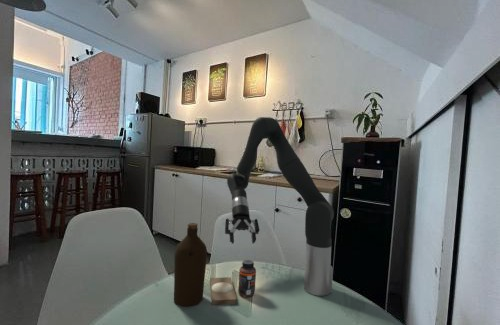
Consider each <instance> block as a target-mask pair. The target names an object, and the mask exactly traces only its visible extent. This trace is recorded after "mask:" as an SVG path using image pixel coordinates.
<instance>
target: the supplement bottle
mask: <svg viewBox="0 0 500 325" xmlns="http://www.w3.org/2000/svg"><path fill="white" fill-rule="evenodd" d="M254 266H255V263H254V261H253V260H251V259H244V260H243V261H242V266H240V268H239V274H238V293H237V294H238V295H240V297H243V298H251V297H253V296H254V295H255V292H256V280H257V278H256V275H257V269H256V267H254Z"/></svg>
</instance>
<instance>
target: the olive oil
mask: <svg viewBox="0 0 500 325" xmlns="http://www.w3.org/2000/svg"><path fill="white" fill-rule="evenodd" d="M175 247H176V248H175V250H174V259H173V260H174V263H173V264H174V265H173V266H174V272H173V273H174V274H173V276H174V278H173V280H174V281H173V282H174V284H173V303H174V304H175V305H177V306H178V307H182V308H190V307H195V306H198V305H199V304H201V303H202V301H203V300H204V288H205V278H206V277H205V276H206V269H207V268H206V266H207V261H208V260H207V259H208V250H207V246H206V244H205V243H204V241H203V240H202V239H201V238H200V236H199V235H198V223H197V222H195V223H194V222H189V223H188V224H187V229H186V235H185V237H184V238H183V239H182V240H181V241H180V242H179V243H178V244H177V246H175Z"/></svg>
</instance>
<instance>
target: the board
mask: <svg viewBox="0 0 500 325" xmlns="http://www.w3.org/2000/svg"><path fill="white" fill-rule="evenodd" d="M209 286H210V300H211V306H220V305H221V306H222V305H225V306H226V305H236V304H237V300H238V298H237V294H236V291H235V288H234V284H233V281H232V277H229V276H228V277H225V276H224V277H210V278H209Z"/></svg>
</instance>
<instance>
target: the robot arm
mask: <svg viewBox="0 0 500 325" xmlns="http://www.w3.org/2000/svg"><path fill="white" fill-rule="evenodd" d="M265 139H268V140H269V142H270V143H271V145H272V146H273V148H274V151H275V153H276V164H277V167H278V169H279V171H280V172H281V174H282V175H283V177H284V179H285V180H286V182H288V184H289V185H290V186H291V187H292V188H293V189H294V190H295V191H296V192H297V193H298V194H299V195H300V196H301V198H302V199H303V201H304V203H305V204H306V206H307V208H306V211H305V217H304V218H305V219H304V220H305V222H304V226H305V227H304V235H305V238H306V239H305V240H306V241H305V262H304V279H303V281H304V282H303V285H304V287H303V289H304V290H305V292H307V293H309V295H313V296H320V297H321V296H322V297H323V296H327V295H329V294H332V292H333V275H334V274H333V272H334V271H333V270H334V267H333V266H332V265H331V264H332V263H331V262H332V240H333V239H332V238H331V236H332V235H331V226H332V224H331V223H332V221H333V219H334V217H335V211H334V208H333V206H332V205H331V204H330V203H329V201H328V200H327V199H326V198H325V196H324V195H323V194H322V192H321V191H320V190H319V189H318V187H317V186H316V183H315V182H314V180H313V178H312V177H311V175H310V173H309V172H308V170H307V168H306V167H305V165H304V164H303V162H302V161H301V159H300V157H299V156H298V155H297V153H296V151H295V150H294V148H293V147H292V145H291V143H290V142H289V141H288V139H287V137H286V135H285V133H284V131H283V129H282V127H281V125H280V124H279V121H277V119H275V118H274V117H267V116H265V117H264V116H263V117H262V116H260V117H257V118H255V119H254V121H253V123H252V125H251V128H250V131H249V135H248V138H247V143H246V146H245V148H244V152H243V153H242V154H243V155H242V156H241V158H240V160H239V161H238V162H239V163H238V164H237V167H236V171H237V173H231V174H229V175H228V177H227V178H226V183H227V188H228V190H229V191H230V195H231V214H232V215H231V216H232V219H229V218H226V219H225V223H224V225H225V226H224V227H225V228H224V234H225V235H229V242H230V243H231V244H233V245H234V243H235V239H234V238H235V236H234V233H235V232H236V231H237V230H238V231H247V232H248V233H249V234H251V242H252V243H251V244H255V243H256V241H257V236H256V235H258V234H259V233H260V225H259V222H258V221H259V220H258V219H257V218H255V219H254V220H253V219H251V216H250V210H249V202H248V196H247V191H246V189H247V188H248V186H249V180H250V177H251V176H250V175H251V173H252V171H253V169H254V167H255V165H256V163H257V157H258V156H257V155H258V148H259V146H260V144H261V143H262V141H263V140H265ZM231 224H232V228H231V229H229V227H230V226H231ZM251 224H252V225H253V226H252V225H251Z"/></svg>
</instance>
